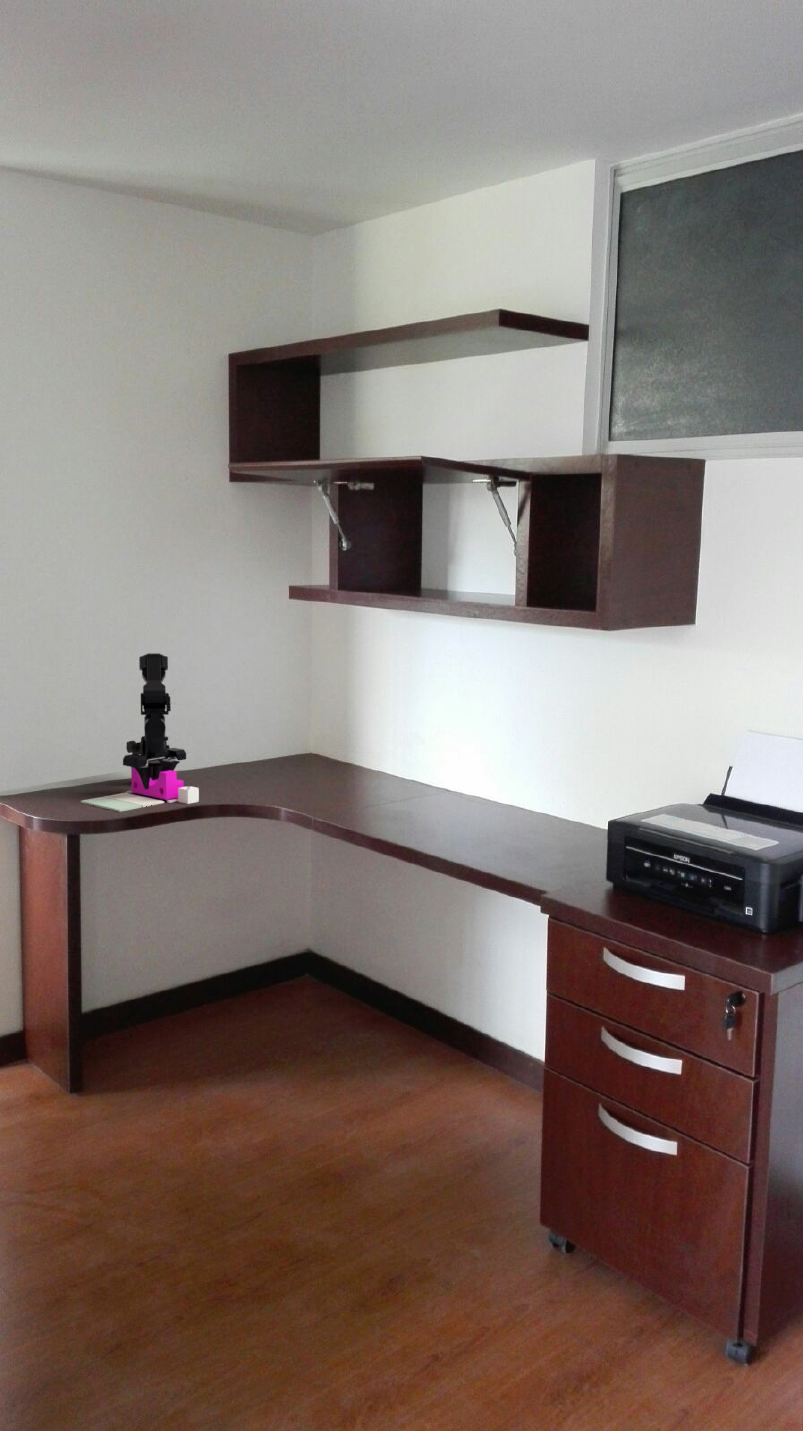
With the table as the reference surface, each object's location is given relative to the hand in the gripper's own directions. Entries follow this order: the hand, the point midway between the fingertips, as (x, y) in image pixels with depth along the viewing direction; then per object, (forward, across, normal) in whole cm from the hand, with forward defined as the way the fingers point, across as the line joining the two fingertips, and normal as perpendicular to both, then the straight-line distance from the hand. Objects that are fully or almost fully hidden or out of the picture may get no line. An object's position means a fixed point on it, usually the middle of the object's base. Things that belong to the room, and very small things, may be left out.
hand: (155, 787), depth 337 cm
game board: (+3, +8, 0) cm, 8 cm away
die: (+3, -2, +12) cm, 12 cm away
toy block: (+2, 0, +1) cm, 2 cm away
